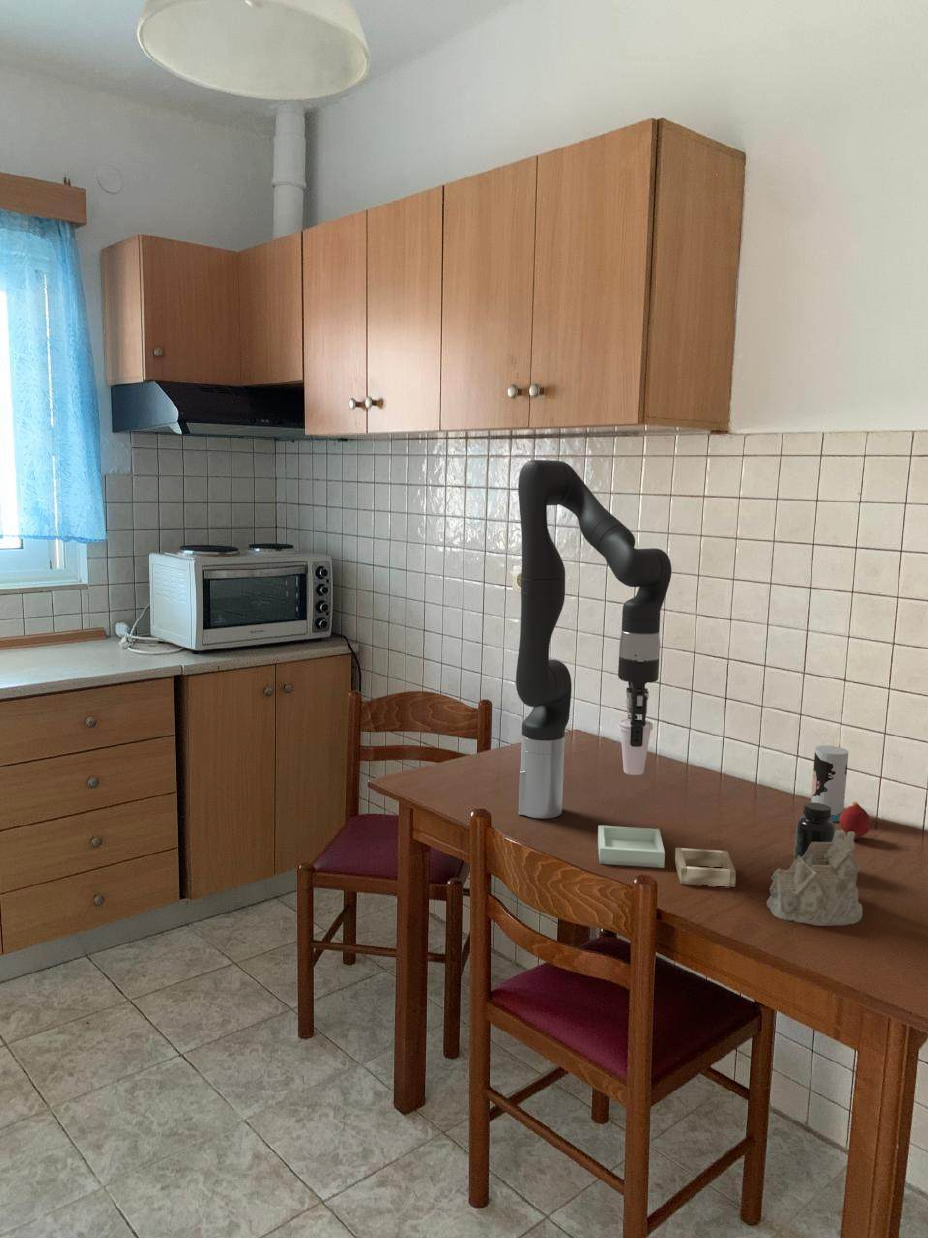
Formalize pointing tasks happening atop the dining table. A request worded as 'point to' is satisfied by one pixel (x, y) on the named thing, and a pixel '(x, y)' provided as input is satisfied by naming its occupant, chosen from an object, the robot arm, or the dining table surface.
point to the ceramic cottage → (819, 885)
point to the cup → (830, 778)
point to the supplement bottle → (813, 827)
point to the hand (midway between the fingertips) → (634, 740)
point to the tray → (630, 846)
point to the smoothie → (634, 755)
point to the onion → (855, 820)
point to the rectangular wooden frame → (704, 874)
